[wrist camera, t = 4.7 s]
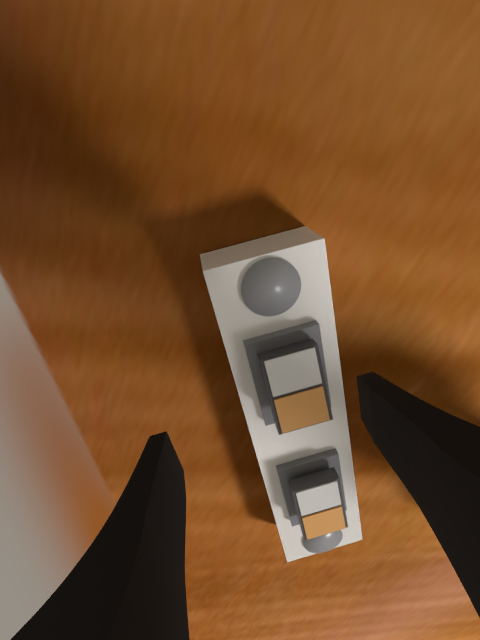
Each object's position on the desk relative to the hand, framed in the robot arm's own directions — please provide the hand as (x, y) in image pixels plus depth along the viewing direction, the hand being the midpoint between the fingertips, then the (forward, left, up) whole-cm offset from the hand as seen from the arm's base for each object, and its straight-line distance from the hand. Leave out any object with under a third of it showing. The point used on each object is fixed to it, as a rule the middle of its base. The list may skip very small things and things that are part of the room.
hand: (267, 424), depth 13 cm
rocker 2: (-12, -2, -6) cm, 14 cm away
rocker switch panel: (-8, -2, -9) cm, 12 cm away
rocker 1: (-3, -2, -6) cm, 6 cm away
